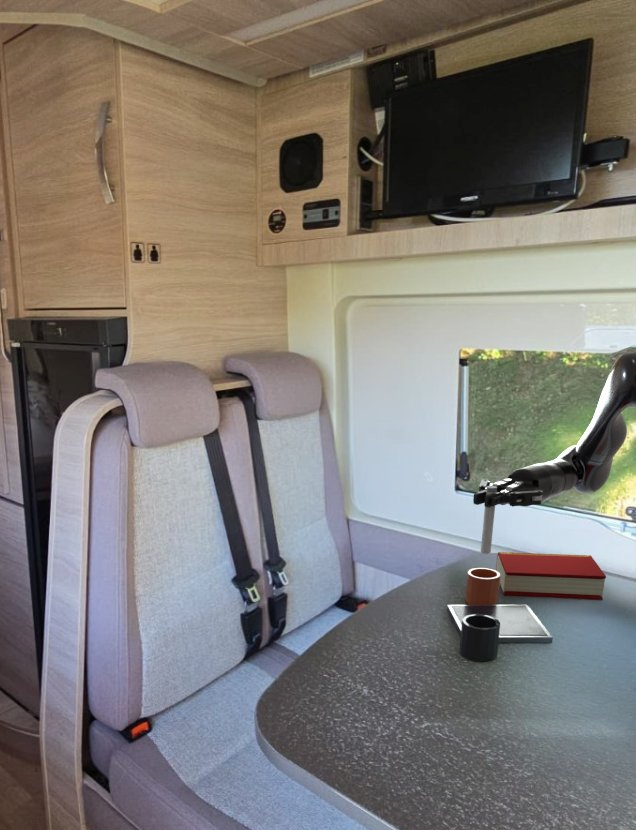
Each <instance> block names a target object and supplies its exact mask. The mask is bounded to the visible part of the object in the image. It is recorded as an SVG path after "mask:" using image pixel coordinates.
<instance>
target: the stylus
mask: <svg viewBox="0 0 636 830" xmlns="http://www.w3.org/2000/svg"><path fill="white" fill-rule="evenodd" d="M496 492H497V487H495V486H487V490H486V495H489V494H493V493H496ZM495 511H496V505H495V506H492V507H489V508H488V507H485V506H484V512H483V523H482V533H481V542H480V543H481V544H480V553H481V554H483V555H484V554H485V555H490V554H491V551H492V542H493V532H494V522H495V521H494V520H495V514H496V513H495Z"/></svg>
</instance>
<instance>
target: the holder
mask: <svg viewBox="0 0 636 830" xmlns="http://www.w3.org/2000/svg"><path fill="white" fill-rule="evenodd" d="M499 633H500V622H499V620H497V619H496V618H494V617H491V616H487V615H481V614H473V615H467V616H465V617H463V619H462V626H461V636H460V638H459V654H460V655H461V656H462V657H463V658H465V659H467V660H469V661H473V662H479V663H487V662H491V661H494V660H496V659H497V657H498V652H499V644H500V643H499Z"/></svg>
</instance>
